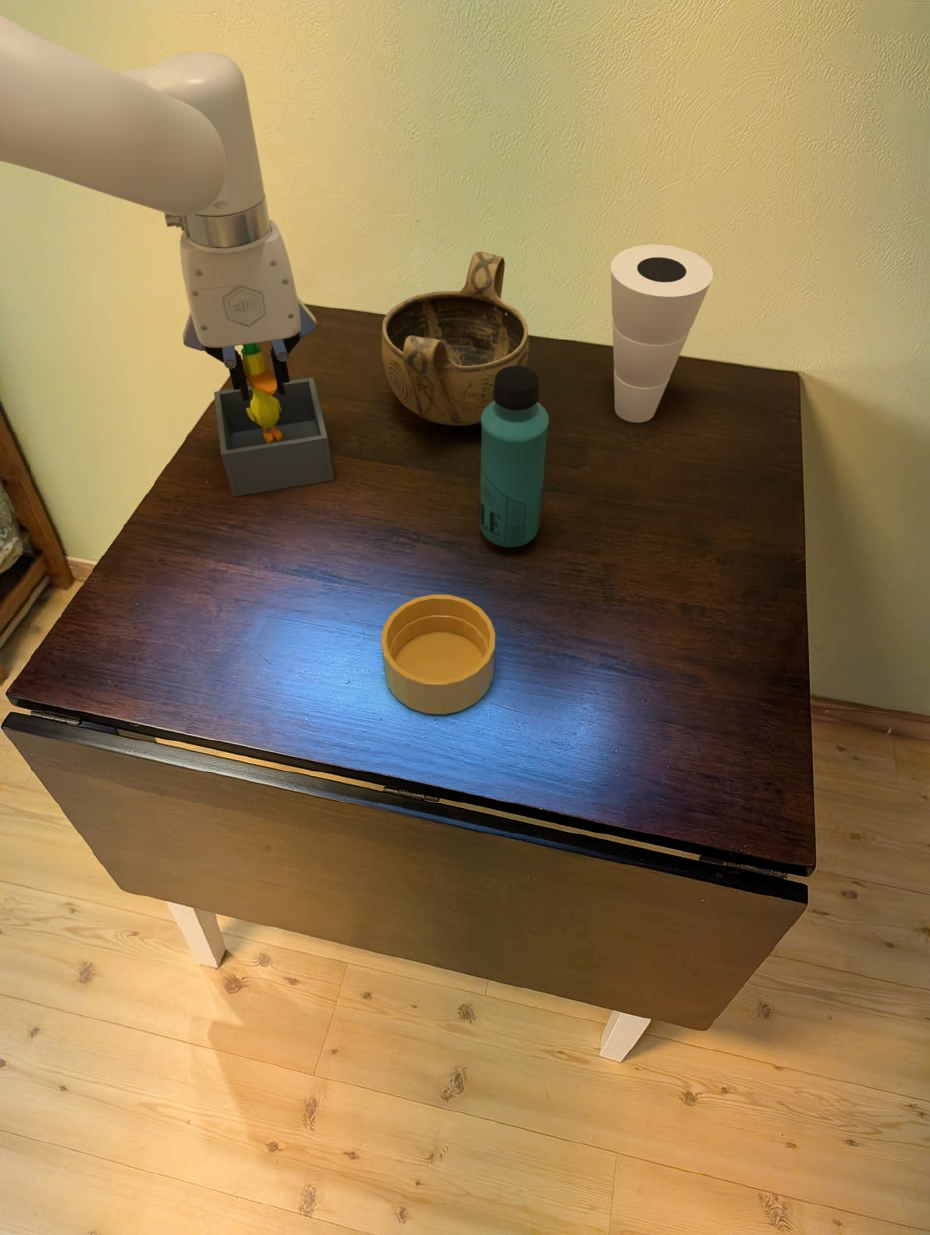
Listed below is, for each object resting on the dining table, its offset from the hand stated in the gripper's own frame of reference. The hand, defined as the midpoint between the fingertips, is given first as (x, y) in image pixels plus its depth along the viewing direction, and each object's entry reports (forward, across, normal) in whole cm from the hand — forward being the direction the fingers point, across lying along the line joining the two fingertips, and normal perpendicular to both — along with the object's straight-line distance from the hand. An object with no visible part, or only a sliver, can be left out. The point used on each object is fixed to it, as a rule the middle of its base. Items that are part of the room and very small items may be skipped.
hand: (262, 389), depth 90 cm
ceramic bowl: (+9, +22, +4) cm, 24 cm away
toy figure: (+7, 0, 0) cm, 7 cm away
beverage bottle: (+10, +22, -19) cm, 31 cm away
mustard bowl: (+9, +11, -34) cm, 37 cm away
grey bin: (+9, 0, 0) cm, 9 cm away
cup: (+9, +43, -2) cm, 44 cm away
